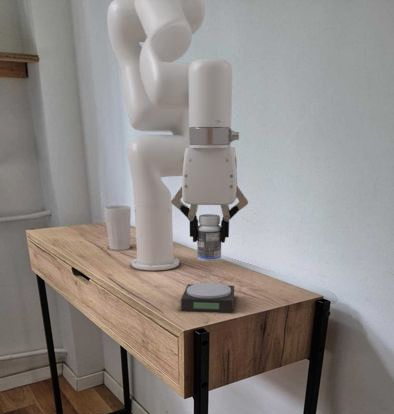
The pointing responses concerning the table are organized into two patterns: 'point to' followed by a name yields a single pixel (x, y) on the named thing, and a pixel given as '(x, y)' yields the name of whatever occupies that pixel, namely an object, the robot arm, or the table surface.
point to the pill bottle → (209, 238)
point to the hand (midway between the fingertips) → (209, 239)
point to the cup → (118, 226)
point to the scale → (208, 297)
